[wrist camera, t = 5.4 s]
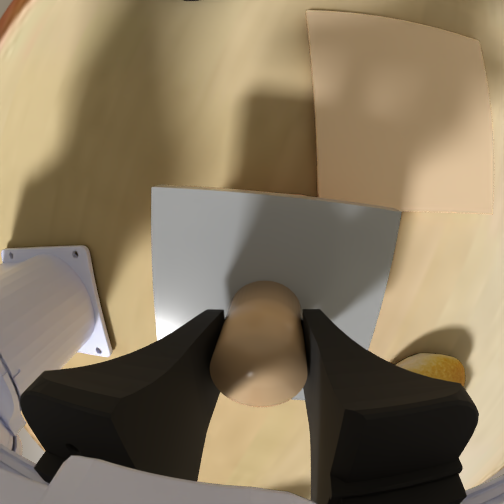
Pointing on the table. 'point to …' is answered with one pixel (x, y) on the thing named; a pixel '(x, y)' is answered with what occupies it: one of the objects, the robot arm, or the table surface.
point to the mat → (400, 114)
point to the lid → (267, 277)
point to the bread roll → (435, 367)
